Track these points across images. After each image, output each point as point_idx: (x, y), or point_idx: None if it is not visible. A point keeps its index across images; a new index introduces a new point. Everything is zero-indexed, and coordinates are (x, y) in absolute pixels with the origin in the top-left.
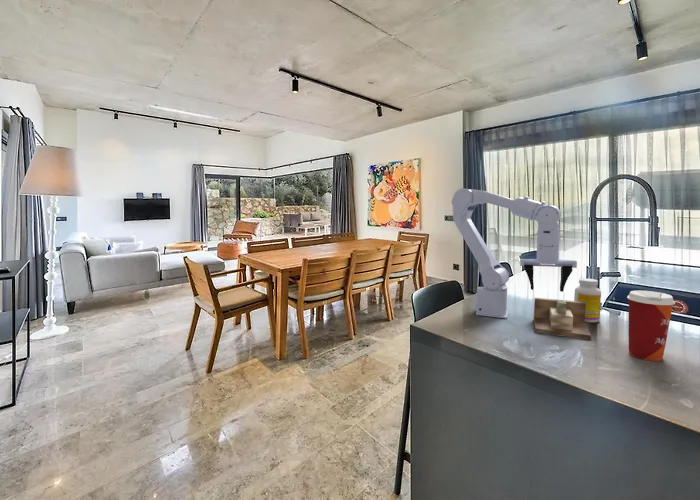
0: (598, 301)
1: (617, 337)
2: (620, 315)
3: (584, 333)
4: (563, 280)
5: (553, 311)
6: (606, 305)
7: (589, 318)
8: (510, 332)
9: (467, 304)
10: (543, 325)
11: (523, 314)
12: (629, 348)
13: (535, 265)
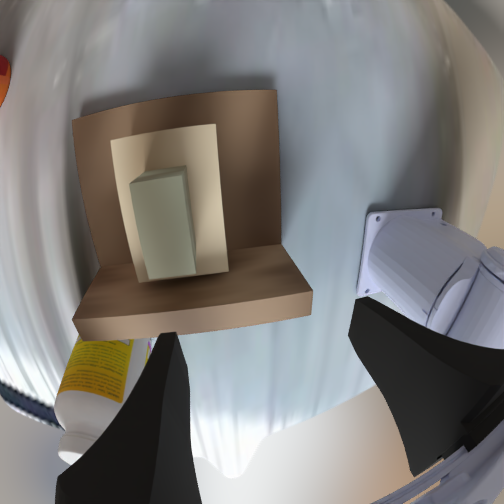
0: (63, 377)
1: (22, 204)
2: None
3: (91, 126)
4: (149, 402)
5: (208, 189)
6: None
7: None
8: (352, 63)
9: None
10: (244, 143)
11: None
12: (2, 68)
13: (446, 464)
